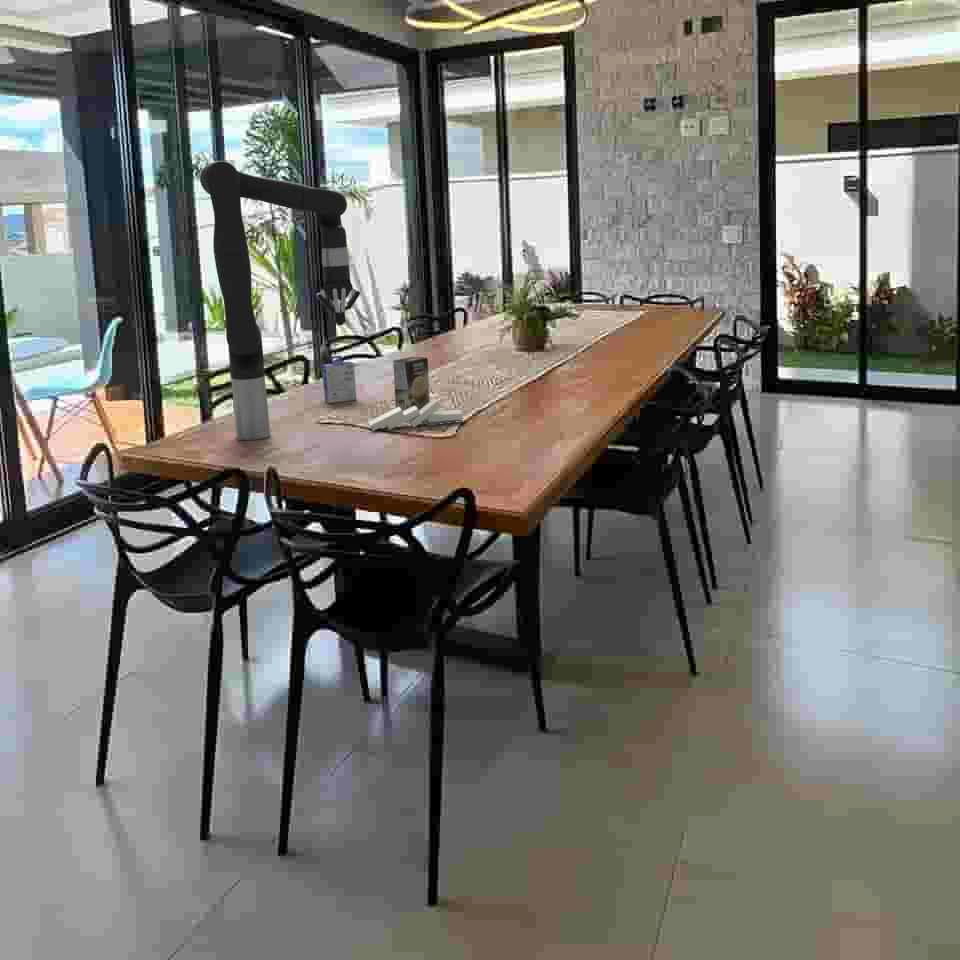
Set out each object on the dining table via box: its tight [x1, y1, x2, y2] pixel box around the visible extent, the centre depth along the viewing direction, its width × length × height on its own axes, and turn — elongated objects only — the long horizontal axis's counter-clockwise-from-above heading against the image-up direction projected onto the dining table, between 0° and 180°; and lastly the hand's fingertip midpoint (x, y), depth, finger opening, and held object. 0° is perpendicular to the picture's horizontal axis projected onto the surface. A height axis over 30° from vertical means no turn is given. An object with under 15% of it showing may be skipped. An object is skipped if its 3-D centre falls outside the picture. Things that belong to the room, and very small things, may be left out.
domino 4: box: [427, 409, 464, 422], centre depth 318 cm, size 2×5×10 cm
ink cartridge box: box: [321, 355, 357, 404], centre depth 356 cm, size 10×6×14 cm, turn 115°
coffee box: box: [392, 356, 431, 412], centre depth 335 cm, size 9×6×16 cm
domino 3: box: [408, 397, 442, 428], centre depth 316 cm, size 2×5×10 cm
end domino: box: [423, 418, 463, 426], centre depth 320 cm, size 2×5×10 cm
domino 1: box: [367, 407, 404, 432], centre depth 314 cm, size 2×5×10 cm
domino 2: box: [385, 406, 420, 431], centre depth 315 cm, size 2×5×10 cm
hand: (340, 325), depth 316 cm, fingers closed
